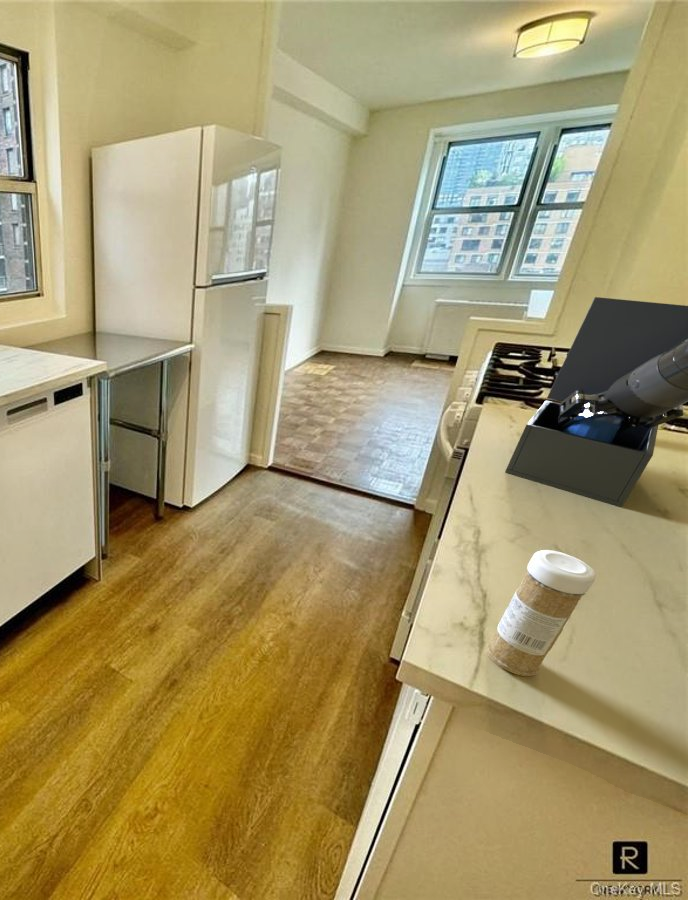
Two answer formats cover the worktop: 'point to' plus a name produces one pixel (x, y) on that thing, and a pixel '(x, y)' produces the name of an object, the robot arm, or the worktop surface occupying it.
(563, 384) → the door
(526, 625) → the sprinkles bottle
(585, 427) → the cup
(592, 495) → the grey storage bin
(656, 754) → the worktop surface
